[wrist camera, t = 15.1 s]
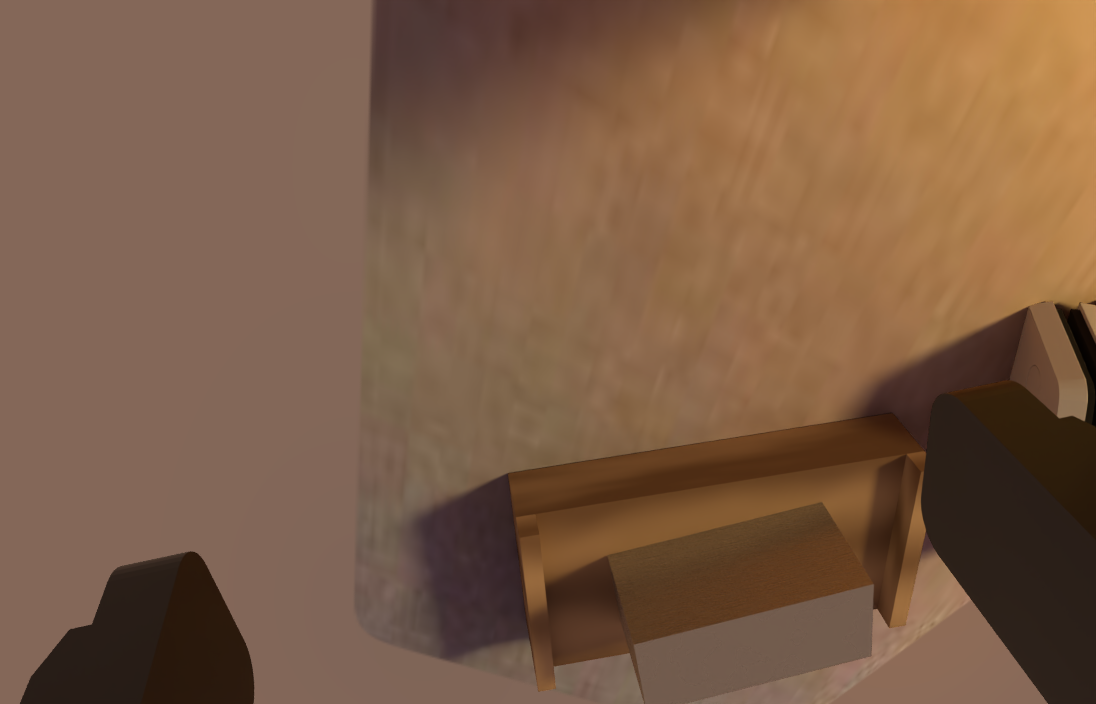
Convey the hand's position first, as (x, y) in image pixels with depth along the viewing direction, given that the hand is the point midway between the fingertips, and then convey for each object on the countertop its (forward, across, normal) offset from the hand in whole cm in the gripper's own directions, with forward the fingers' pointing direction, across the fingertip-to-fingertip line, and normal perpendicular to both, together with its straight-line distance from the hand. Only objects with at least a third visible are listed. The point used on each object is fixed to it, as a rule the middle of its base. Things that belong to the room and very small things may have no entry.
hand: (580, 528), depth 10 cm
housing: (+26, -9, +30) cm, 41 cm away
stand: (+30, -9, +31) cm, 44 cm away
